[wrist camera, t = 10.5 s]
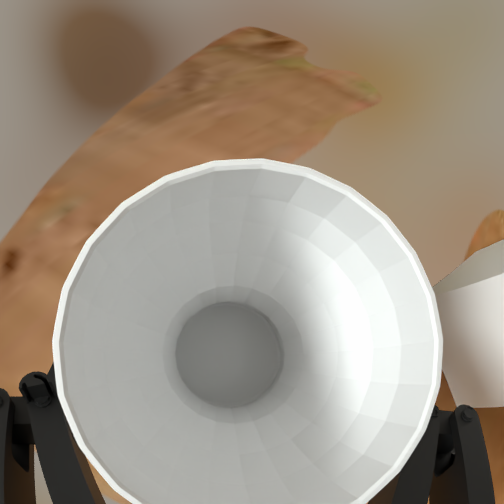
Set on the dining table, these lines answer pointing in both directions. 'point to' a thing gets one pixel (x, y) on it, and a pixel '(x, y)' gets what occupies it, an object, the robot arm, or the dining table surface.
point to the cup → (247, 341)
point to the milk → (474, 328)
